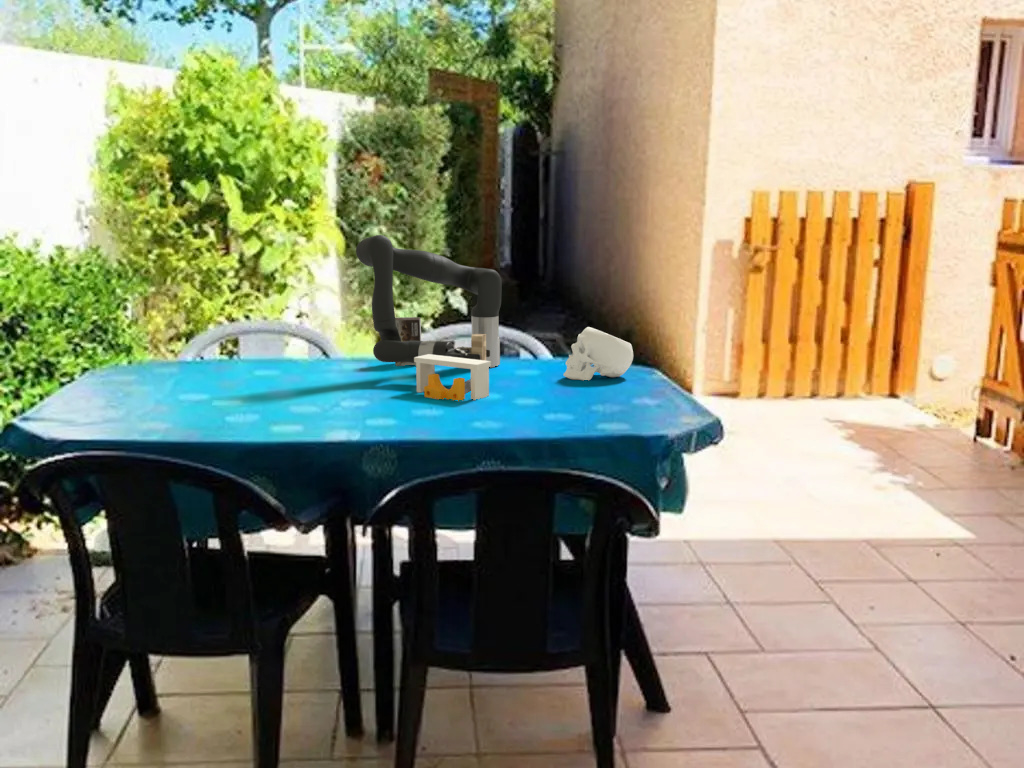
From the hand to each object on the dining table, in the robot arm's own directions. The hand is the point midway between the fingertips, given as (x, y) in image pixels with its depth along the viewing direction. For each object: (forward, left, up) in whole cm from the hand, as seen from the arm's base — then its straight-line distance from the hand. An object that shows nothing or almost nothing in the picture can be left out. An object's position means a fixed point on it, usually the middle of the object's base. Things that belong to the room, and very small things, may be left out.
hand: (485, 355), depth 312 cm
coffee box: (-18, -45, -10) cm, 49 cm away
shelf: (+14, -2, -10) cm, 18 cm away
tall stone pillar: (+8, 0, -10) cm, 13 cm away
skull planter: (-33, +22, -10) cm, 40 cm away
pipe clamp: (+20, 0, -10) cm, 23 cm away
